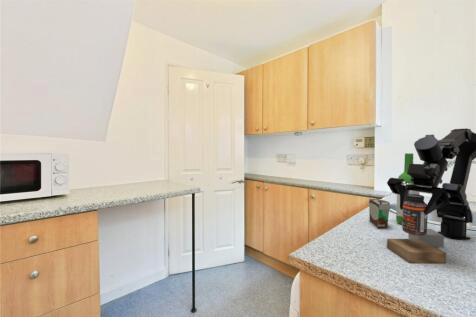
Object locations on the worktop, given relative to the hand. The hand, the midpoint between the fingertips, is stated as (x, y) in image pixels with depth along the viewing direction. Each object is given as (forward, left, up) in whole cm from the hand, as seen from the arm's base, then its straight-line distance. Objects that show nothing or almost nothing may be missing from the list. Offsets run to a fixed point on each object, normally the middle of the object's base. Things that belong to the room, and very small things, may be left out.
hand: (412, 211), depth 69 cm
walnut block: (-1, 0, -13) cm, 13 cm away
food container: (-8, -28, -13) cm, 32 cm away
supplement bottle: (-1, -1, -7) cm, 7 cm away
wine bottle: (-20, -30, -13) cm, 39 cm away
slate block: (-12, -10, -14) cm, 21 cm away
